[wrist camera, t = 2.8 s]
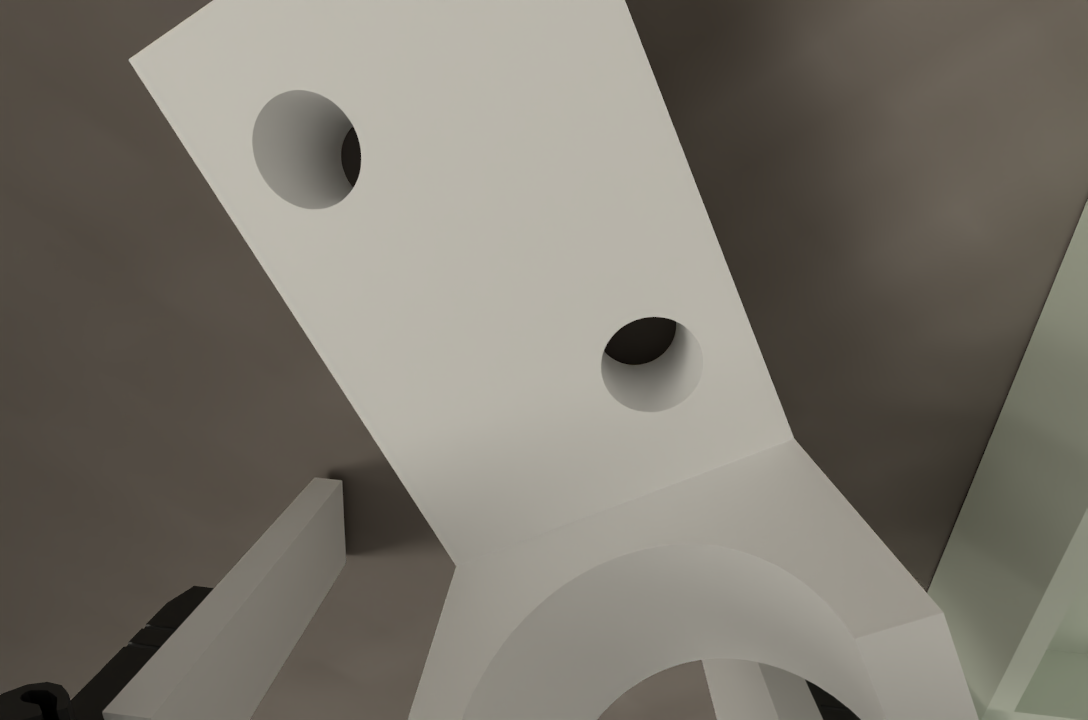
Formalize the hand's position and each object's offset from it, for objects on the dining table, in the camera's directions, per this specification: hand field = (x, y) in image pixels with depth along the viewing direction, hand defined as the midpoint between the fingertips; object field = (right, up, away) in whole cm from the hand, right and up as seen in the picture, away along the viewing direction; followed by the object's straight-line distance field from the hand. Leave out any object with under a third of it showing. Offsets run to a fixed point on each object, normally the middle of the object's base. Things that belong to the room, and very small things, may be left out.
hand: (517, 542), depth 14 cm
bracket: (+1, +7, -2) cm, 7 cm away
